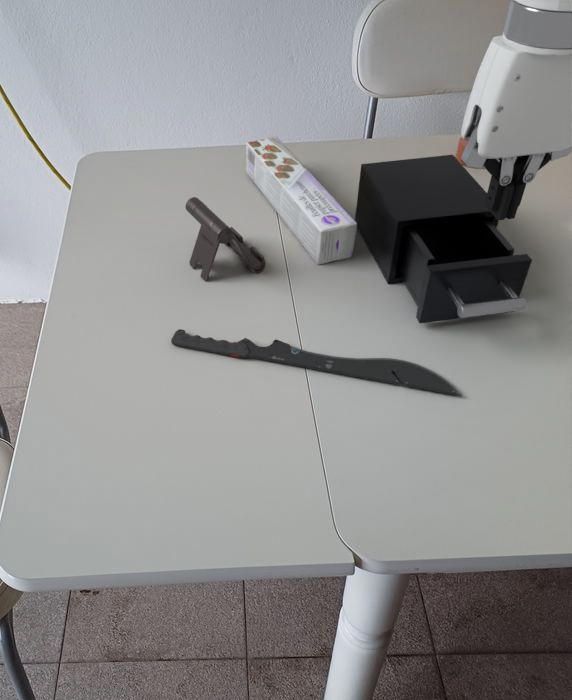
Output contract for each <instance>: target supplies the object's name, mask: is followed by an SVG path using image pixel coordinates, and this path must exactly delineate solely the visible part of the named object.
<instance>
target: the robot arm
mask: <svg viewBox="0 0 572 700" xmlns="http://www.w3.org/2000/svg"><path fill="white" fill-rule="evenodd" d="M478 68H479V69H478V71H477V74H476V76H475V80H474V83H473V87H472V89H471V92H470V95H469V98H468V101H467V105H466V109H465V112H464V116H463V121H462V125H461V130H460V136H461V137H462V138H463V139H464V140H465V141H468V143H467V145H466V147H465V149H464V151H463V154H462V156H461V161H462V162H463V163H464V164H465V165H466V166H465V167H467V168H471V169H477V170H486V171H487V172H488V173H489V174H490V175H491V177H490V181H489V185H488V188H487V192H486V193H487V196H486V200H485V204H486V207H487V208H488V210H489V211H490V212H491V213H492V214H493V215H494V216H495V218H496V219H497V220H498V221H499V222H500V221H504V220H505V219H507V220H513V219H515V218H516V214H517V212H518V209H519V206H520V205H521V204H522V199H523V196H524V193H525V190H526V187H527V184H530V183H531V182H533V181H534V179H535V177H536V175H537V173H538V172H539V171H540V170H541V169H543V168H544V167H545V166H546V165H547V164H548V163H550V162H552V161H555V160H558V159H561V158H564V157H567V156H569V155H570V154H571V152H572V0H510V2H509V7H508V10H507V15H506V19H505V24H504V28H503V32H502V35H496V36H494V37H493V38H492V39H491V41H490V43H489V45H488V46H487V50H486V52H485V54H484V55H483V58H482V60H481V63H480V66H479V67H478ZM461 137H460V138H461Z"/></svg>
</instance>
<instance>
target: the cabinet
mask: <svg viewBox="0 0 572 700" xmlns="http://www.w3.org/2000/svg"><path fill="white" fill-rule="evenodd" d="M486 196H487V192H486V190H485V189H484V188H483V187H482V185H481V184H479V182H478V181H477V180H476V179H475V178H474V177H473V176H472V175H471V173H470V172H469V171H468V170H467V169H466V167H465V166H464V165H462V164H461V163H460V162H459V161H458V160H457V159H456V156H454V154H446V155H445V154H444V155H436V156H425V157H418V158H417V157H416V158H407V159H397V160H396V159H395V160H387V161H379V162H368V163H360V172H359V180H358V190H357V199H356V206H355V216H354V220H355V221H356V222H357V229H356V230H358V232H359V234H360V236H361V238H362V240H363V241H364V243H365V244H366V247H367V249H368V251H369V252H370V254H371V256H372V257H373V259H374V261H375V263H376V265H377V267H378V269H379V271H380V272H381V274H382V276H383V278H384V280H385V281H386V283H387V285H391V284H400V283H401V284H402V283H404V282H403V281H402V279H401V277H400V275H399V274H398V272H397V270H396V268H397V263H398V257H399V251H400V245H401V240H402V234H403V228H404V226H411V225H420V224H429V223H438V222H447V221H456V220H465V219H473V218H482V217H488V218H489V220H490V221H491V222H492V223H493V224H494V226H495V227H496V228H497V229H498V225H499V222H500V220H499V221H498V220H497V219H496V218H495V216H494V215H493V214H492V213H491V212H490V211H489V210H488V208H487V207H486V204H485V200H486Z"/></svg>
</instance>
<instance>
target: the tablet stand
mask: <svg viewBox="0 0 572 700" xmlns="http://www.w3.org/2000/svg"><path fill="white" fill-rule="evenodd" d="M185 210H186V211H187V213H188V214H190V215H191V216H192V217H193V218H194V219H195V220H196V221H197V223H198V224H200V228H199V231H198V234H197V237H196V239H195V244H194V246H193V250H192V252H191V256H190V258H189V263H188V264H189V266H190V267H191V268H192V269H193V270H195V269H196V267H197V265H198V264H199V265H200V266H201V272H200V278H201V279H202V280H203V281H205V282H206V281H208V279H209V276H210V274H211V271H212V268H213V266H214V262H215V259H216V255H217V253H218V251H219V248H220V244H221V245H225V246H226V247H227V248H228V249H230V251H231V252H233V253H234V254H235V255H236V256H237V257H238V258H239V260H240V261H242V262H243V263H244V265H246V267H247V268H248V269H249V270H250V271H251V272H253V273H254V274H259V273H262V272H263V271H264V269H265V267H266V257H265V256H264V255H263V254H262V253H261V252H259V250H257V249H256V248H255V247H254V246H249V245H247V243H245V241H244V237H243V236H242V235H241V234H240V233H239V232H238V231H237V230H236V229H235V228H234V227H233V226H231V227H230V226H229V225H228V224H226V223H225V222H224V221H223V220H222V219H221V218H220V217H219V216H218V215H216V213H215V212H213V210H211V209H210V208H209V207H208V205H207V204H205V203H204V202H203V201H201V199H200V198H198V197H196V196H193V197H190V198H188V199H187V201H186V203H185Z"/></svg>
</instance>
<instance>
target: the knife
mask: <svg viewBox="0 0 572 700" xmlns="http://www.w3.org/2000/svg"><path fill="white" fill-rule="evenodd" d="M170 342H171V345H173V346H177V347H181V348H187V349H193V350H197V351H204V352H209V353H214V354H220V355H226V356H230V357H234V358H241V359H246V358H252V359H258V360H264V361H268V362H273V363H279V364H284V365H290V366H295V367H301V368H306V369H312V370H317V371H321V372H327V373H332V374H333V373H334V374H338V375H342V376H343V375H344V376H348V377H354V378H360V379H365V380H371V381H376V382H382V383H387V384H392V385H398V386H401V385H403V386H404V387H408V388H414V389H419V390H424V391H429V392H435V393H441V394H447V395H452V396H462V394H461V392H459V390H458V389H457V388H456V387H455V386H454V385H453V384H452V383H450V382H449V381H448V380H447V379H446V378H444V377H443V376H441V375H440V374H438V373H436V372H435V371H433V370H432V369H429V368H427V367H425V366H423V365H420V364H418V363H415V362H412V361H408V360H404V359H398V358H390V357H360V358H359V357H344V356H335V355H329V354H323V353H317V352H313V351H308V350H305V349H301V348H298V347H295V346H292V345H291V344H289V343H287V342H284V341H282V340H279V339H273V340H272V343H271V344H269V345H266V346H259V345H257V344H255V343H254V342H253V341H252V340H251V339H249V338H247V337H244V338H243V339H241V340H238V341H233V342H232V341H231V342H230V341H228V340H226V339H219V340H218V339H215V338H213V337H210V336H209V337H202V336H200V335H199V334H195V335H189V334H188V333H186V330H185V329H182V328H181V329H180V328H179V329H177V330H176V331H175V332H174V334H173V336H172V338H171V340H170Z"/></svg>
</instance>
